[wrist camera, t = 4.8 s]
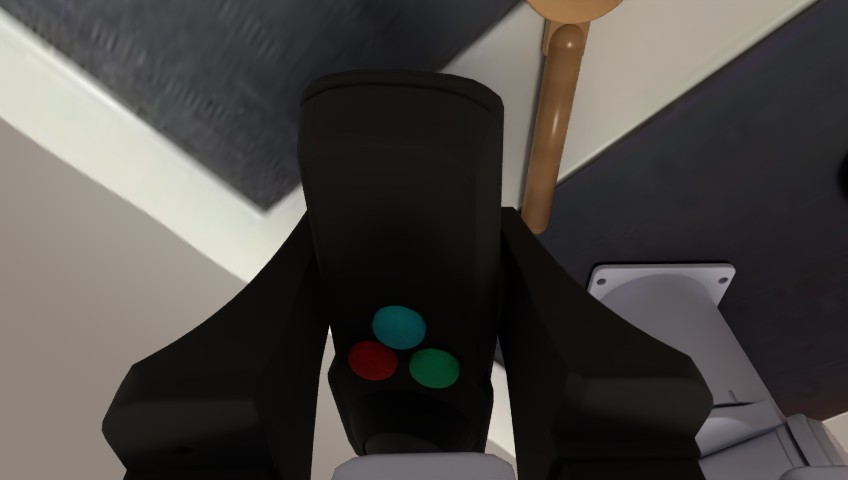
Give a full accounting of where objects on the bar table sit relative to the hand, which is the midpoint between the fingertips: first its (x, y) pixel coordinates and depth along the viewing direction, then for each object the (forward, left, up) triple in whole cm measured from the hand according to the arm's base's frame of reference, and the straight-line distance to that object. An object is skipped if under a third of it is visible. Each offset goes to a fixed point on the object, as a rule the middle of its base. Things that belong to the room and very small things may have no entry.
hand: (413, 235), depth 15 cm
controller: (0, -1, -4) cm, 4 cm away
